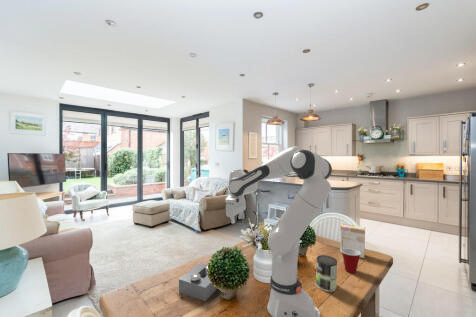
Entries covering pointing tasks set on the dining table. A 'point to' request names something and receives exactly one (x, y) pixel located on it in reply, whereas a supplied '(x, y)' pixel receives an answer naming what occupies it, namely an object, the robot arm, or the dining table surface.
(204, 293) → the filter housing
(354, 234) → the coffeecake box
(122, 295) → the dining table surface
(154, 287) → the dining table surface
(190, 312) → the dining table surface
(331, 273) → the coffee can
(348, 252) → the plastic cup
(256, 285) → the dining table surface
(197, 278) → the plunger
